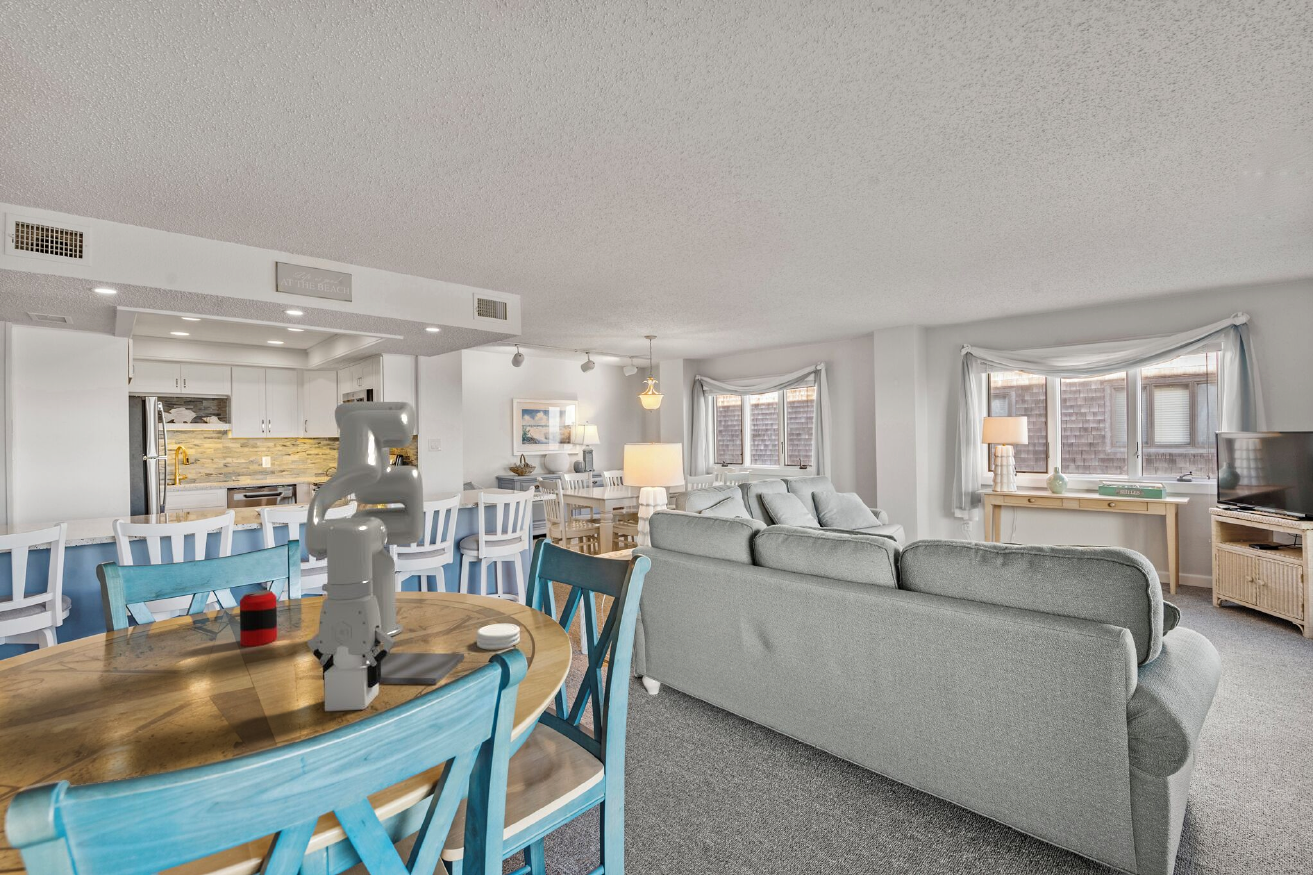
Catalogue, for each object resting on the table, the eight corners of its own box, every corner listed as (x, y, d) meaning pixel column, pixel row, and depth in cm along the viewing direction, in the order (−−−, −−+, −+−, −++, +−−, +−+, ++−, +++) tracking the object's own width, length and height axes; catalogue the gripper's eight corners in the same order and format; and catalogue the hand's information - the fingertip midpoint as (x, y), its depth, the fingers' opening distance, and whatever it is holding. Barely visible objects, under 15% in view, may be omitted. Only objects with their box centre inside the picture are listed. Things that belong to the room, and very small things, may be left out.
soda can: (233, 645, 149) (232, 595, 149) (263, 635, 156) (262, 588, 156) (254, 648, 146) (253, 598, 146) (284, 638, 153) (283, 590, 153)
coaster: (508, 651, 141) (508, 636, 141) (468, 649, 143) (468, 634, 143) (526, 638, 151) (526, 623, 151) (489, 636, 153) (489, 621, 153)
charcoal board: (340, 682, 124) (340, 676, 124) (377, 657, 138) (377, 652, 138) (436, 684, 123) (436, 678, 123) (464, 658, 137) (464, 653, 137)
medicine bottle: (340, 695, 118) (339, 633, 118) (379, 693, 119) (378, 631, 119) (323, 712, 111) (322, 645, 111) (365, 710, 111) (363, 643, 111)
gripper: (292, 595, 112) (294, 692, 112) (384, 595, 110) (386, 693, 110) (318, 585, 119) (320, 676, 119) (405, 585, 118) (407, 677, 118)
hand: (352, 684), depth 115 cm, fingers closed on medicine bottle, 7 cm apart
